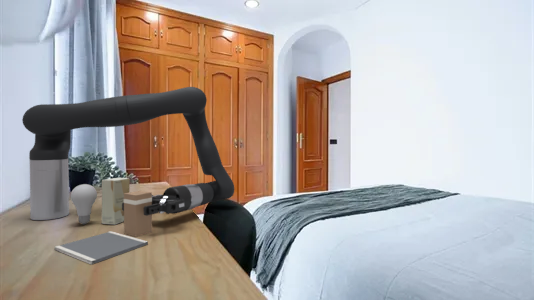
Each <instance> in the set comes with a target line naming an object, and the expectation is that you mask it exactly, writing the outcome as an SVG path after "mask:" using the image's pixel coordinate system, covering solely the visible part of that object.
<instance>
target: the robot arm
mask: <svg viewBox="0 0 534 300" xmlns="http://www.w3.org/2000/svg"><path fill="white" fill-rule="evenodd" d="M207 101H208V99H207V95H206V93H205V92H204V91H203V90H202V89H200V88H198V87H195V86H186V87H183V88H177V89H174V90H173V89H172V90H169V91H163V92H156V93H155V92H153V93H140V94H129V95H128V94H127V95H121V96H119V95H118V96H112V97H105V98H99V99H94V100H88V101H82V102H76V103H59V104H58V103H57V104H56V103H55V104H53V103H51V104H48V103H47V104H44V103H43V104H42V103H41V104H36V105H33V106H32V107H30V108H29V109H27V110H26V111H25V112H24V114H23V115H22V119H21V120H22V124H23V127H24V128H25V129H26V130H27V131H28V132H30V133H32V134H34V144H33V147H32V148H31V149H30V150H29V157H28V158H29V194H30V195H29V198H30V205H29V206H30V213H29V214H30V219H31V220H33V221H46V220H54V219H55V220H56V219H60V218H64V217H66V216H69V215H70V189H69V188H70V187H69V185H70V184H69V182H70V181H69V179H70V178H69V175H70V173H69V171H70V170H69V152H70V151H71V142H72V140H71V138H72V130H76V129H85V128H114V127H115V128H116V127H125V126H131V125H137V124H141V123H145V122H148V121H150V120H154V119H157V118H160V117H163V116H168V115H177V114H178V115H181V114H182V116H183V118H184V119H185V121H186V124H187V125H188V128H189V130H190V134H191V135H192V136H191V137H192V139H193V142H194V145H195V146H194V147H195V151H196V154H197V158H198V160H199V164H200V167H201V170H202V173H203V174H204V175H205V176H212V177H213V179H214V180H213V181H207V182H197V183H193V184H192V183H191V184H190V183H189V184H182V185H177V186H171V187H167V188H166V189H165V190H164V192H163V193H162V194H155V195H153V194H152V205H148V206H145V207H144V215H146V216H148V215H155V214H164V213H165V214H167V215H170V214H172V215H174V214H179V213H182V212H187V211H190V210H192V209H195V208H198V207H202V206H205V205H207V204H209V203H214V202H218V201H222V200H227V199H228V200H229V199H231V198H233V196H234V194H235V184H234V182H233V179H232V178H231V177H230V175H229V173H228V171H227V170H226V169H225V167H224V165H223V162H222V160H221V156H220V153H219V150H218V148H217V145H216V143H215V139H214V138H213V135H212V134H211V132H210V129H209V126H208V122H207V117H206V110H205V109H206V106H207ZM122 210H123V211H124V202H123V203H122Z"/></svg>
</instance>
